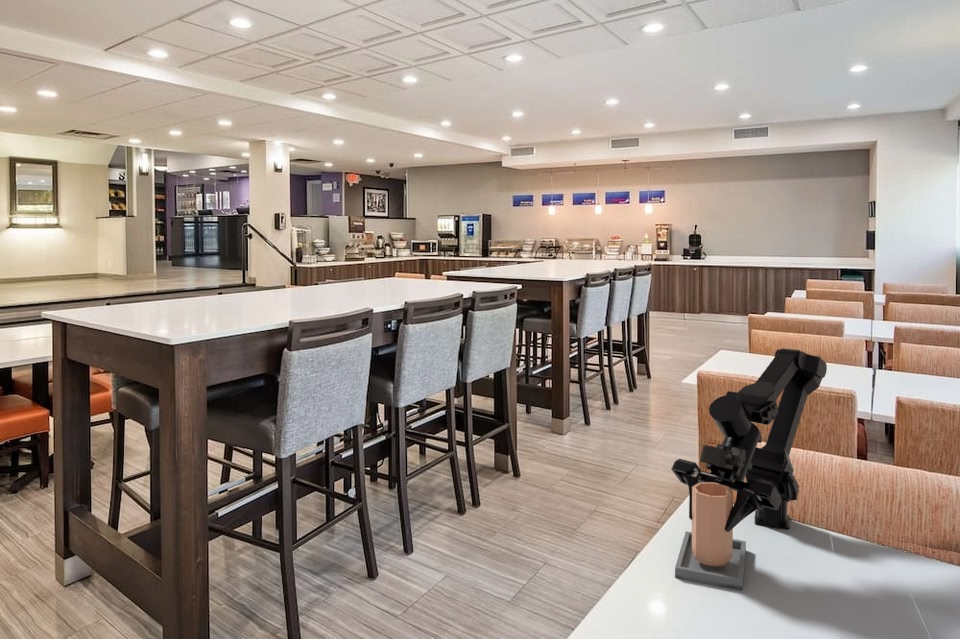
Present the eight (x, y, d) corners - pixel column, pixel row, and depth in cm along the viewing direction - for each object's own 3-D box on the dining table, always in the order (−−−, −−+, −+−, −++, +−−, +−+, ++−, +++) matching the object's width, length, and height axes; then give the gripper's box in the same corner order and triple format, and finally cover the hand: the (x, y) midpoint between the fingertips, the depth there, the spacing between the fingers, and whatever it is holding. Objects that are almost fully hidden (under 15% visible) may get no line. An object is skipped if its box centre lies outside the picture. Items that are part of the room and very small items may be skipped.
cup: (704, 545, 115) (704, 479, 114) (737, 557, 110) (738, 489, 109) (686, 557, 111) (686, 489, 109) (719, 571, 106) (720, 500, 105)
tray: (685, 539, 121) (685, 531, 121) (745, 550, 117) (745, 541, 116) (675, 577, 108) (675, 567, 108) (742, 590, 103) (742, 580, 103)
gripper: (676, 418, 117) (644, 489, 111) (776, 438, 104) (746, 521, 98) (696, 447, 124) (667, 516, 118) (793, 470, 110) (766, 549, 104)
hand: (708, 524), depth 109 cm, fingers closed on cup, 6 cm apart
